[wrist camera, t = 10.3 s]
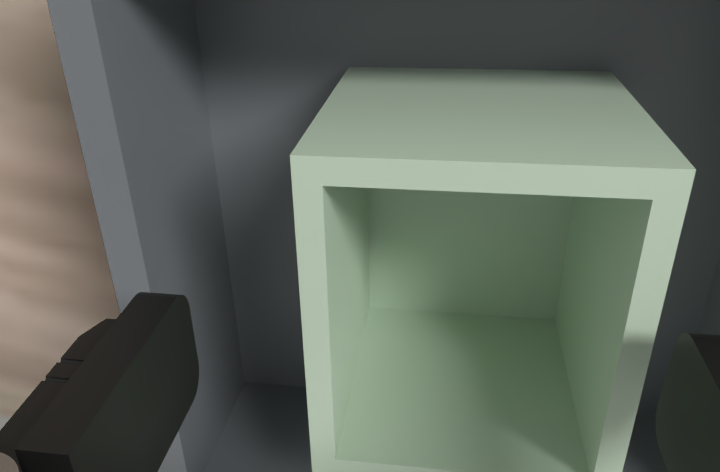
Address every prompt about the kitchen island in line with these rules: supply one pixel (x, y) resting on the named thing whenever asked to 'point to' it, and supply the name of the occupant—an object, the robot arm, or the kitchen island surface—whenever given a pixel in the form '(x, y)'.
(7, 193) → the kitchen island surface
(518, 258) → the sage crate
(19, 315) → the kitchen island surface
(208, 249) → the charcoal crate
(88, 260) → the kitchen island surface
